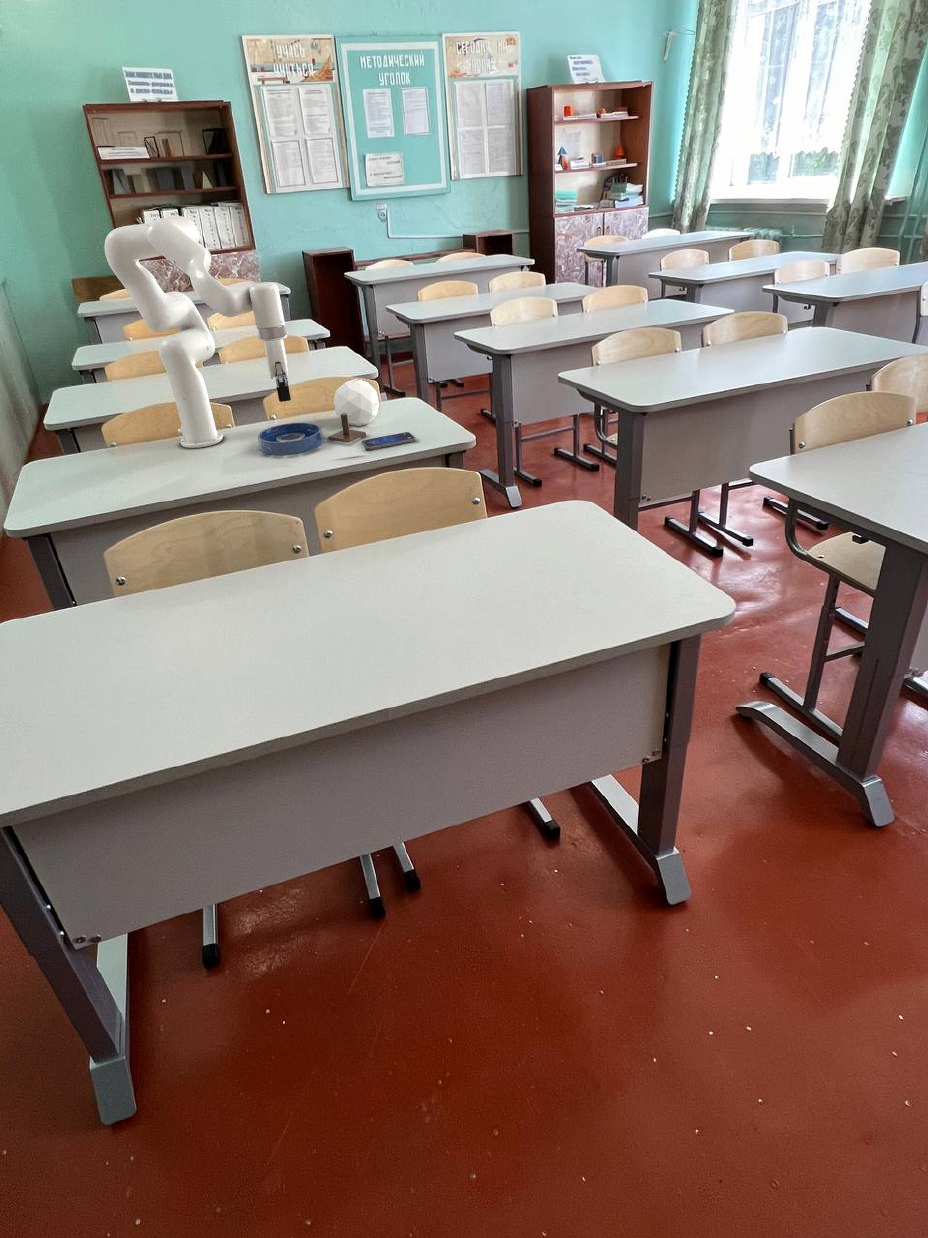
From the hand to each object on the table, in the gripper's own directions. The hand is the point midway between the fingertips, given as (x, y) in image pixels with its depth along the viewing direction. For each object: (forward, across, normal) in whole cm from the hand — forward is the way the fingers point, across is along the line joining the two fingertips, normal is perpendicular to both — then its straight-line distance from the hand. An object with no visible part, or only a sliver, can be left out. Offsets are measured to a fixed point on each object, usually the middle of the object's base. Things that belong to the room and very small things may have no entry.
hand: (284, 396), depth 212 cm
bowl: (+15, -2, -1) cm, 15 cm away
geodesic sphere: (+16, -16, +21) cm, 30 cm away
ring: (+14, -4, -1) cm, 15 cm away
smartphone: (+16, +6, +27) cm, 32 cm away
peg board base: (+15, -3, +16) cm, 22 cm away
